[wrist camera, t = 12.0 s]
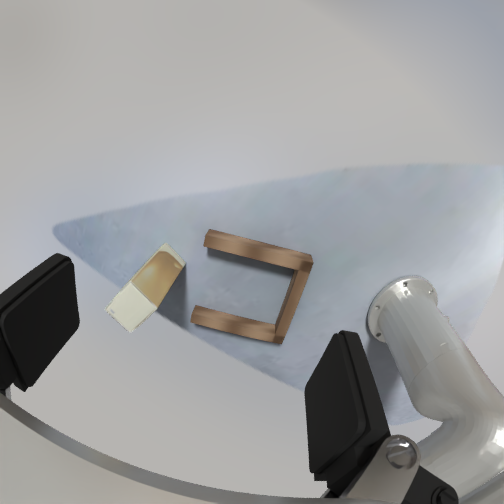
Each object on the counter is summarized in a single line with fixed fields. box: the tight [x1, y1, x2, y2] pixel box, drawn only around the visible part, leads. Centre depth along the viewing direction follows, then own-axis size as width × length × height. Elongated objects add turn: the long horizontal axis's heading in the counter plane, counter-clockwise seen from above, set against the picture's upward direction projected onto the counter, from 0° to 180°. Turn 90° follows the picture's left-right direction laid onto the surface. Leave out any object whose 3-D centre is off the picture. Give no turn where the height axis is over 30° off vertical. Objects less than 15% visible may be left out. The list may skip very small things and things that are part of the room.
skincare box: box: [105, 243, 186, 333], centre depth 35 cm, size 6×4×12 cm
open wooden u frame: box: [191, 229, 313, 344], centre depth 39 cm, size 14×14×2 cm
